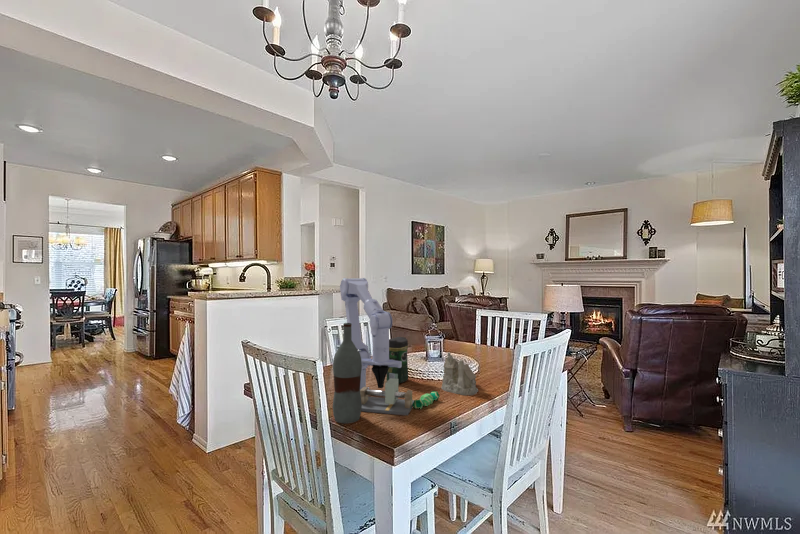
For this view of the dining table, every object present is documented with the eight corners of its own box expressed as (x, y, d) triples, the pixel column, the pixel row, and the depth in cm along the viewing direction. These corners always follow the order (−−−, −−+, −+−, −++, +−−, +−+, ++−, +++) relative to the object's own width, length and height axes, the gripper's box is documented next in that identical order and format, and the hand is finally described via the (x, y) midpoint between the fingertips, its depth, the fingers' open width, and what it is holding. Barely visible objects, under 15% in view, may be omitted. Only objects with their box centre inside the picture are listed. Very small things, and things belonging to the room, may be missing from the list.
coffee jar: (395, 377, 167) (395, 335, 168) (410, 379, 163) (410, 336, 164) (383, 382, 159) (383, 338, 159) (399, 385, 155) (399, 340, 155)
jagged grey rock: (466, 397, 140) (466, 355, 142) (433, 388, 152) (434, 350, 154) (490, 391, 151) (490, 352, 152) (458, 383, 163) (458, 348, 164)
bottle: (356, 425, 114) (357, 325, 115) (328, 423, 116) (328, 325, 116) (365, 414, 124) (365, 321, 124) (338, 412, 125) (338, 321, 126)
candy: (423, 408, 126) (417, 397, 128) (416, 412, 128) (410, 401, 130) (441, 399, 136) (435, 388, 138) (434, 402, 138) (429, 392, 139)
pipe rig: (355, 410, 126) (355, 393, 127) (366, 399, 138) (366, 383, 138) (407, 415, 122) (407, 398, 122) (415, 403, 134) (415, 387, 134)
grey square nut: (385, 403, 127) (385, 383, 127) (390, 397, 133) (390, 378, 133) (393, 404, 126) (393, 383, 126) (398, 398, 132) (398, 378, 132)
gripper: (357, 349, 129) (356, 389, 129) (398, 351, 125) (398, 392, 125) (363, 345, 136) (363, 383, 135) (403, 347, 132) (403, 386, 132)
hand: (380, 387), depth 131 cm, fingers closed
